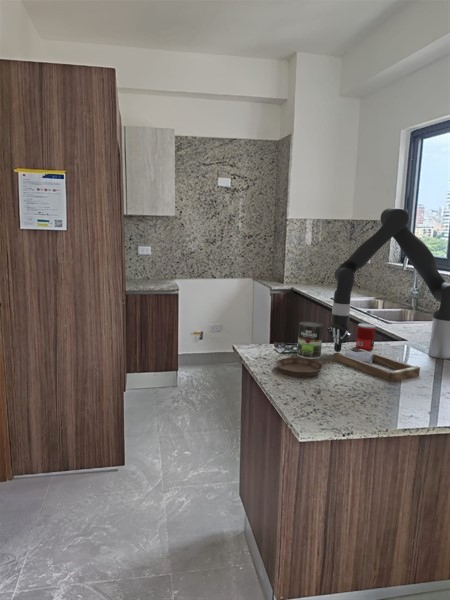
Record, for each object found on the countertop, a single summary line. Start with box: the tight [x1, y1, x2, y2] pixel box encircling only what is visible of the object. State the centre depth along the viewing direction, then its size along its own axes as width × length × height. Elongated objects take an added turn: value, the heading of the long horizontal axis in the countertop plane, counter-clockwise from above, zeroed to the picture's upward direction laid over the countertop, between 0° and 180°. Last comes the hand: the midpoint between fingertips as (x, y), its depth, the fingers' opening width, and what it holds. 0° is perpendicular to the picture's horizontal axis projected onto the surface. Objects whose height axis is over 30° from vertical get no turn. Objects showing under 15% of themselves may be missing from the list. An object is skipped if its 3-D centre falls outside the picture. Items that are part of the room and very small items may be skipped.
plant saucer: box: [275, 357, 324, 378], centre depth 176 cm, size 18×18×3 cm
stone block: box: [343, 349, 374, 365], centre depth 192 cm, size 12×5×10 cm
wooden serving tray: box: [333, 348, 421, 383], centre depth 185 cm, size 16×30×3 cm, turn 32°
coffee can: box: [296, 321, 325, 360], centre depth 196 cm, size 10×10×14 cm
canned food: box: [355, 322, 376, 351], centre depth 214 cm, size 8×8×11 cm
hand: (337, 351), depth 202 cm, fingers closed
